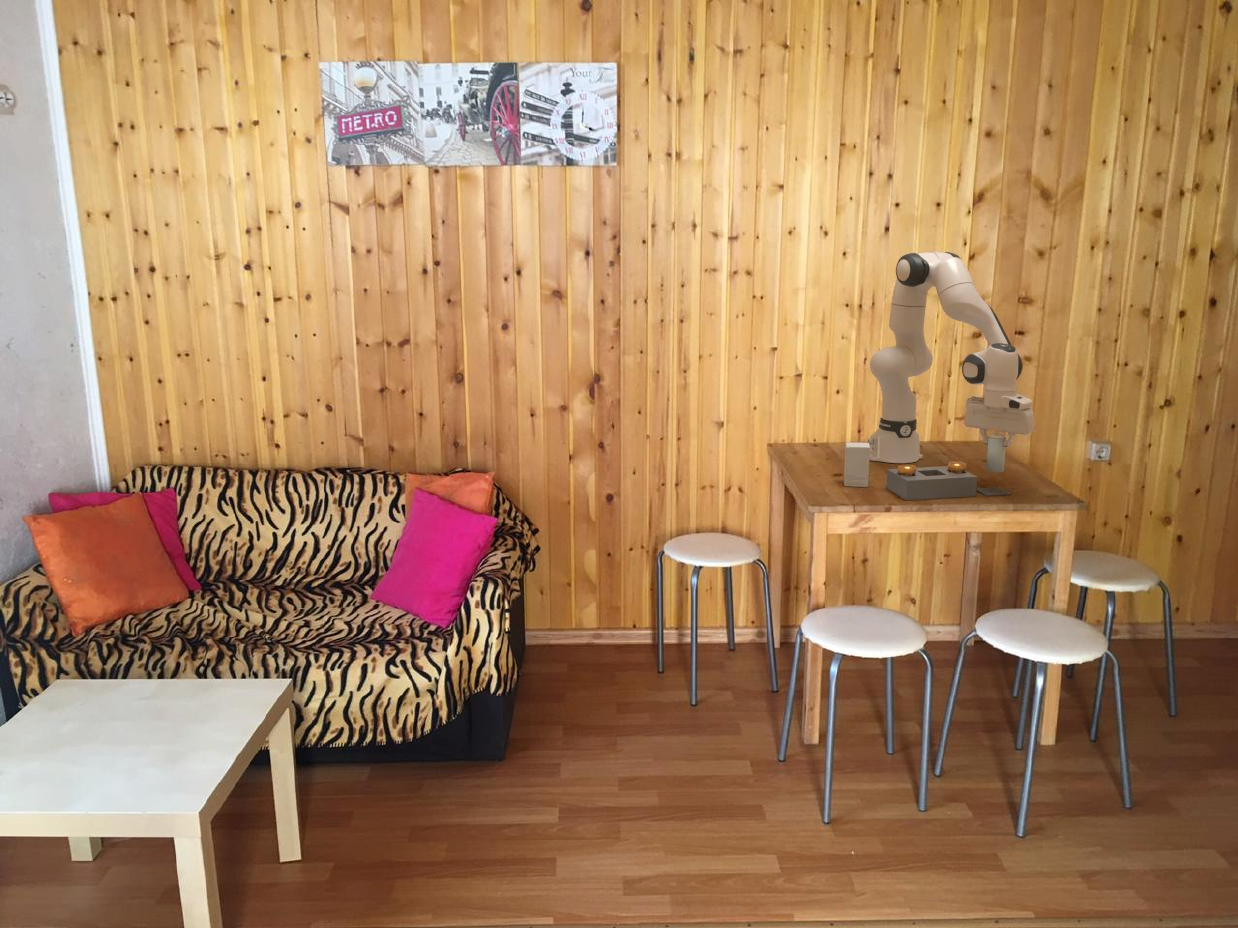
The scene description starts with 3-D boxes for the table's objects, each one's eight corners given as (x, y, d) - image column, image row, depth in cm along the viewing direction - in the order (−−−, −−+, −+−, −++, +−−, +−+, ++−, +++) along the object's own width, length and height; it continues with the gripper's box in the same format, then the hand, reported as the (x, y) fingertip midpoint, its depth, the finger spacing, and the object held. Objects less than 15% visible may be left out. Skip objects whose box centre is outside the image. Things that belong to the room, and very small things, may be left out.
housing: (886, 488, 310) (887, 469, 309) (953, 484, 314) (954, 465, 312) (906, 500, 297) (907, 480, 295) (976, 496, 300) (977, 476, 299)
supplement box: (868, 487, 312) (870, 447, 309) (843, 486, 313) (845, 446, 310) (867, 481, 319) (869, 442, 316) (843, 480, 320) (845, 441, 317)
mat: (973, 489, 307) (973, 488, 307) (998, 488, 309) (998, 486, 308) (987, 496, 300) (987, 495, 300) (1012, 494, 301) (1012, 493, 301)
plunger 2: (943, 485, 308) (944, 461, 307) (959, 484, 309) (960, 460, 307) (951, 489, 303) (953, 465, 302) (967, 488, 304) (969, 464, 302)
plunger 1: (893, 488, 306) (895, 464, 304) (910, 487, 307) (911, 463, 305) (901, 493, 301) (902, 468, 299) (917, 492, 302) (919, 467, 300)
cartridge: (983, 470, 302) (985, 434, 300) (990, 467, 306) (993, 431, 303) (999, 473, 299) (1001, 436, 296) (1006, 470, 302) (1009, 434, 300)
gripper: (961, 397, 303) (958, 442, 306) (1028, 404, 288) (1025, 451, 291) (971, 394, 307) (968, 438, 310) (1038, 401, 292) (1034, 448, 296)
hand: (996, 445), depth 301 cm, fingers closed on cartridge, 5 cm apart
